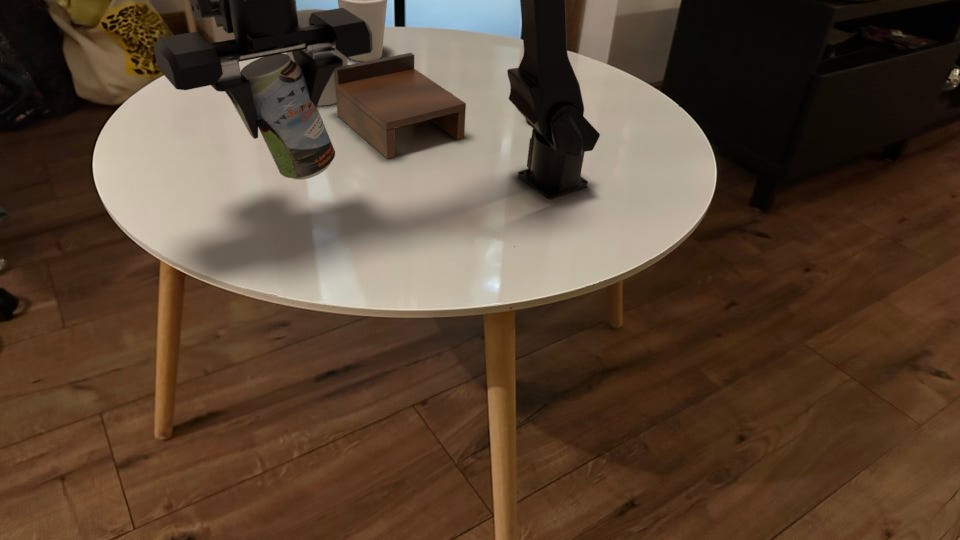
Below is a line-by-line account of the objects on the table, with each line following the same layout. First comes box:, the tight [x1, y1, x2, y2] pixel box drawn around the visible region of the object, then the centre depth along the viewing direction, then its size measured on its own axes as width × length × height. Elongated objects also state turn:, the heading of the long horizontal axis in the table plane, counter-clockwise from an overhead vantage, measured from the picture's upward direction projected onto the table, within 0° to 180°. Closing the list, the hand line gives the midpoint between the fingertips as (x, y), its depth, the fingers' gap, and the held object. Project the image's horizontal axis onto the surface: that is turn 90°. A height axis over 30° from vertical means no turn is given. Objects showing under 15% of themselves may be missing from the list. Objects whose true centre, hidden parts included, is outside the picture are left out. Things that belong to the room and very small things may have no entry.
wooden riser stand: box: [334, 52, 467, 159], centre depth 94 cm, size 14×12×7 cm
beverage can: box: [240, 53, 336, 181], centre depth 69 cm, size 6×7×12 cm
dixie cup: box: [337, 0, 388, 62], centre depth 112 cm, size 8×8×10 cm
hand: (280, 130), depth 69 cm, fingers closed on beverage can, 5 cm apart
